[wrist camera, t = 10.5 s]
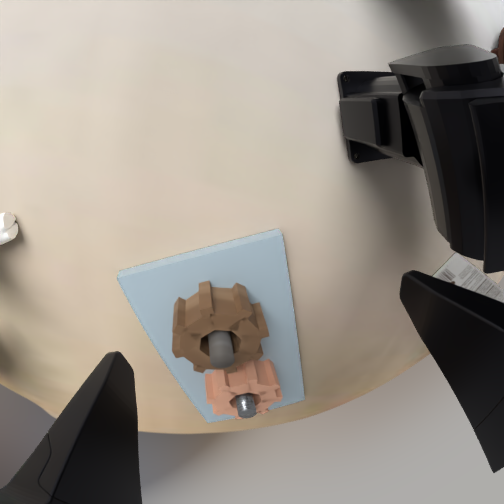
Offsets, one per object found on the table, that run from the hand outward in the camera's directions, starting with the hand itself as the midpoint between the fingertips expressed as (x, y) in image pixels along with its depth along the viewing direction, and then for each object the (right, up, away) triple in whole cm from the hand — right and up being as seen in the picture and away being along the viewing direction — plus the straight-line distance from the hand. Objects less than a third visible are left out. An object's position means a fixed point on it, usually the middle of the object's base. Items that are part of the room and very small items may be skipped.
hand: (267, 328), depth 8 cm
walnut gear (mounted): (-3, -3, +14) cm, 14 cm away
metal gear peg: (-2, -10, +17) cm, 20 cm away
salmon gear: (-2, -10, +18) cm, 20 cm away
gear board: (-2, -7, +17) cm, 19 cm away
